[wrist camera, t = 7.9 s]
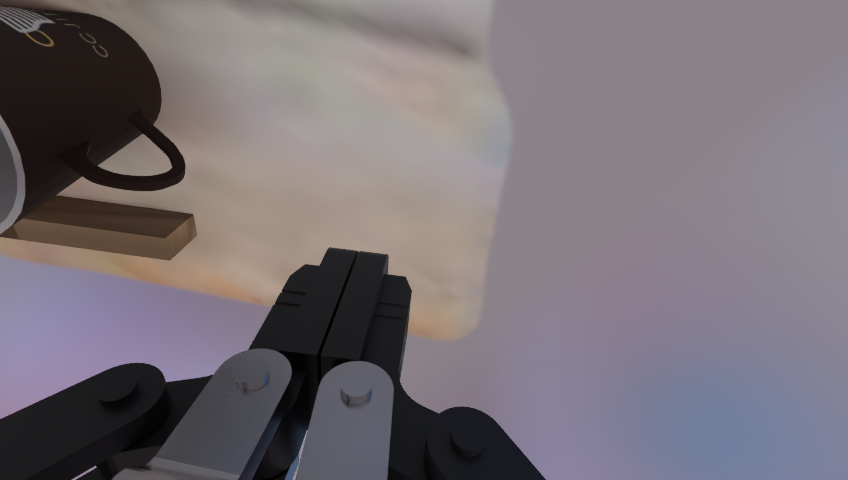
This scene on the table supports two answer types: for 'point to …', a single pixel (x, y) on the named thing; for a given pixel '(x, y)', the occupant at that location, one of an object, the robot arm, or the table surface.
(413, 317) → the table surface
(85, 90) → the coffee mug
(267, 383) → the robot arm
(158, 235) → the walnut corral
